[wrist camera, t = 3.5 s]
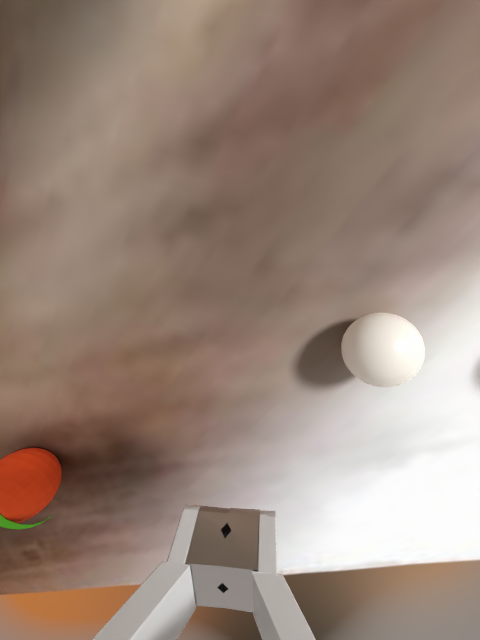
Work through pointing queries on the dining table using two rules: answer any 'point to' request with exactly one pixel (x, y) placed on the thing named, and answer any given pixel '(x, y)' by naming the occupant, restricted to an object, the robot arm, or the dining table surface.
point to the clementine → (27, 485)
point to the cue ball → (383, 349)
